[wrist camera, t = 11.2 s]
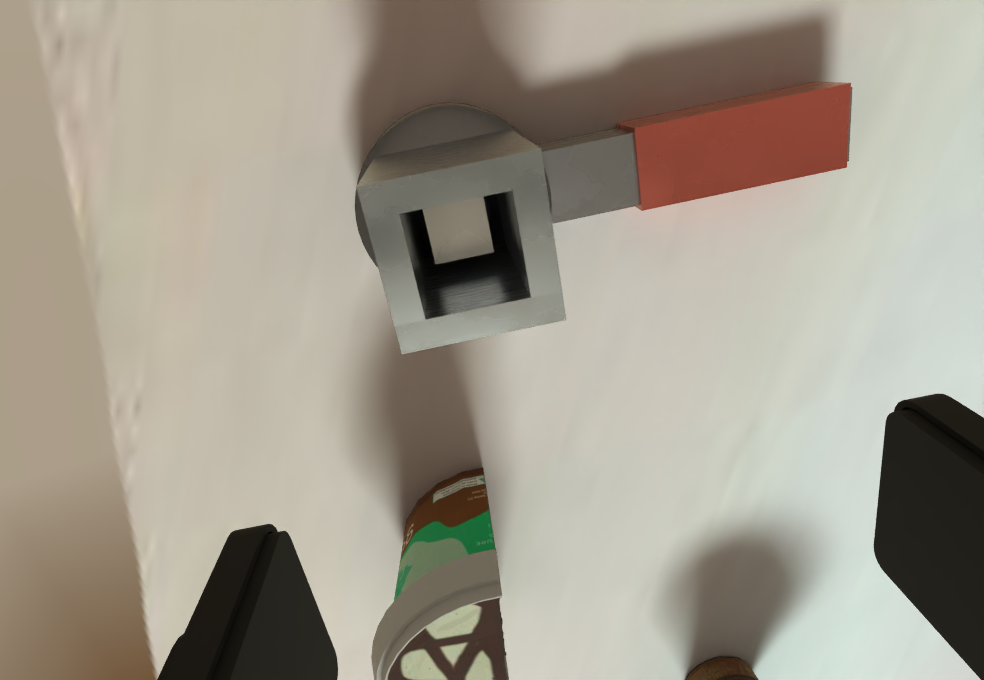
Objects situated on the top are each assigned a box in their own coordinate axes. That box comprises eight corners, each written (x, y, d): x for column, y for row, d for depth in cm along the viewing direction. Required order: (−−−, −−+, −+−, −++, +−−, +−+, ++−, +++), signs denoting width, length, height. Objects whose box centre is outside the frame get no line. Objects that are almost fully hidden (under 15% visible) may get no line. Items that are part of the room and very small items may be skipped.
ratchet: (820, 24, 26) (927, 10, 21) (815, 207, 30) (906, 238, 24) (340, 123, 26) (316, 137, 21) (387, 297, 29) (378, 351, 24)
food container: (366, 459, 33) (342, 608, 24) (480, 444, 33) (500, 585, 24) (400, 626, 38) (391, 802, 29) (499, 612, 38) (522, 782, 29)
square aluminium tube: (510, 128, 24) (541, 148, 18) (532, 260, 26) (566, 319, 20) (375, 156, 24) (356, 186, 18) (407, 286, 26) (401, 354, 20)
